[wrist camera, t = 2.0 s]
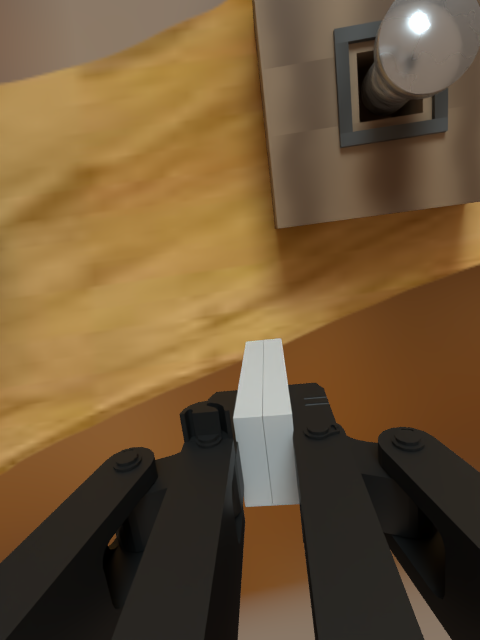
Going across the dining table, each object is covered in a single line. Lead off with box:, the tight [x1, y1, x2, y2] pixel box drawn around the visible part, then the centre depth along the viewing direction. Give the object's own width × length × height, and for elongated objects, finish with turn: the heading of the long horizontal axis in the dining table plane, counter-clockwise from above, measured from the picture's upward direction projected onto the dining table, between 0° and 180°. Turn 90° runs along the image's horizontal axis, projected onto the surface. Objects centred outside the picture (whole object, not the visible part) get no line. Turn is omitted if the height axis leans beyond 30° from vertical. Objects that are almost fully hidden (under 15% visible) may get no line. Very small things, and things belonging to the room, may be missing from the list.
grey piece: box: [361, 0, 480, 116], centre depth 26 cm, size 6×6×8 cm
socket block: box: [252, 0, 480, 229], centre depth 32 cm, size 20×20×8 cm
